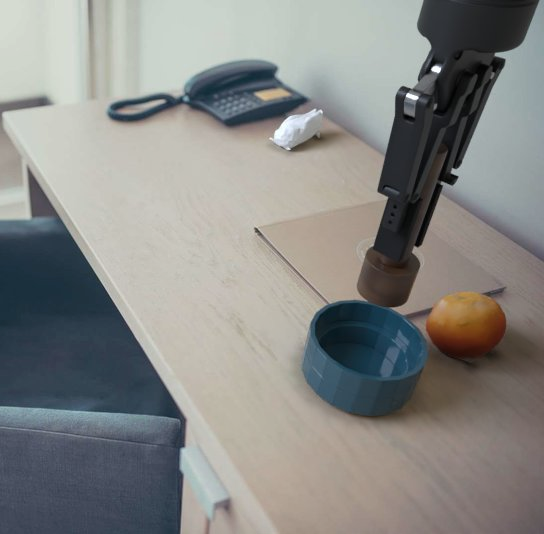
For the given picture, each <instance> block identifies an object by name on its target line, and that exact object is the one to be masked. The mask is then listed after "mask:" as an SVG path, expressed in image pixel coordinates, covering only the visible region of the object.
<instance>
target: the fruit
mask: <svg viewBox="0 0 544 534" xmlns="http://www.w3.org/2000/svg"><path fill="white" fill-rule="evenodd" d="M505 313H506V312H504V310H503V308H502V306H501V304H499V303H498V301H496V300H495V299H494V298H493V297H490V296H488V295H486V294H483V293H480V292H477V291H461V292H454V293H449V294H446V296H444V297H441V298H440V299H439V300H438V301H437V302H436V303H435V304H434V305H433V306H432V308H431V311H430V313H429V315H428V317H427V319H426V322H425V330H426V331H425V332H426V333H427V335H428V336H429V337H428V338H430V340H431V342H432V344H433V345H434V346H435V347H436V348H437V350H439V351H441V352H443V353H444V354H445V355H447V356H449V357H451V358H454V359H458V360H463V361H466V362H467V363H469V364H470V365H472V363H473V362H474V361H476V360H477V359H479V358H481V357H482V356H484V355H486V354H489V353H491V354H493V351H492V350H494V349H495V348H496V347H497V346H498V345H499V344H500V342H501V341H502V339H503V338H504V336H505V334H506V330H507V318H506V317H507V316H506V314H505Z"/></svg>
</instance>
